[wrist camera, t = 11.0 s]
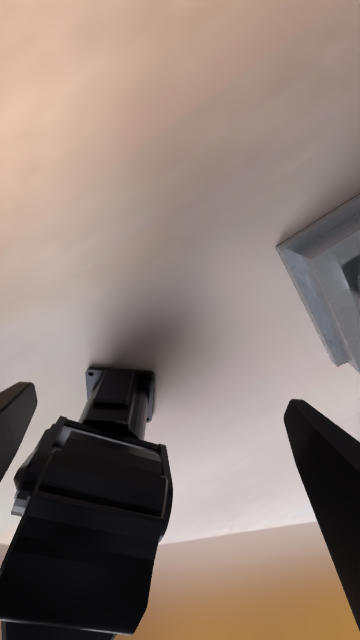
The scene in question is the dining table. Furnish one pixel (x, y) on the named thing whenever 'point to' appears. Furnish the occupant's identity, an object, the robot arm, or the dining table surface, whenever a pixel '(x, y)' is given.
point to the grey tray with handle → (330, 278)
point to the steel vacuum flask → (359, 281)
